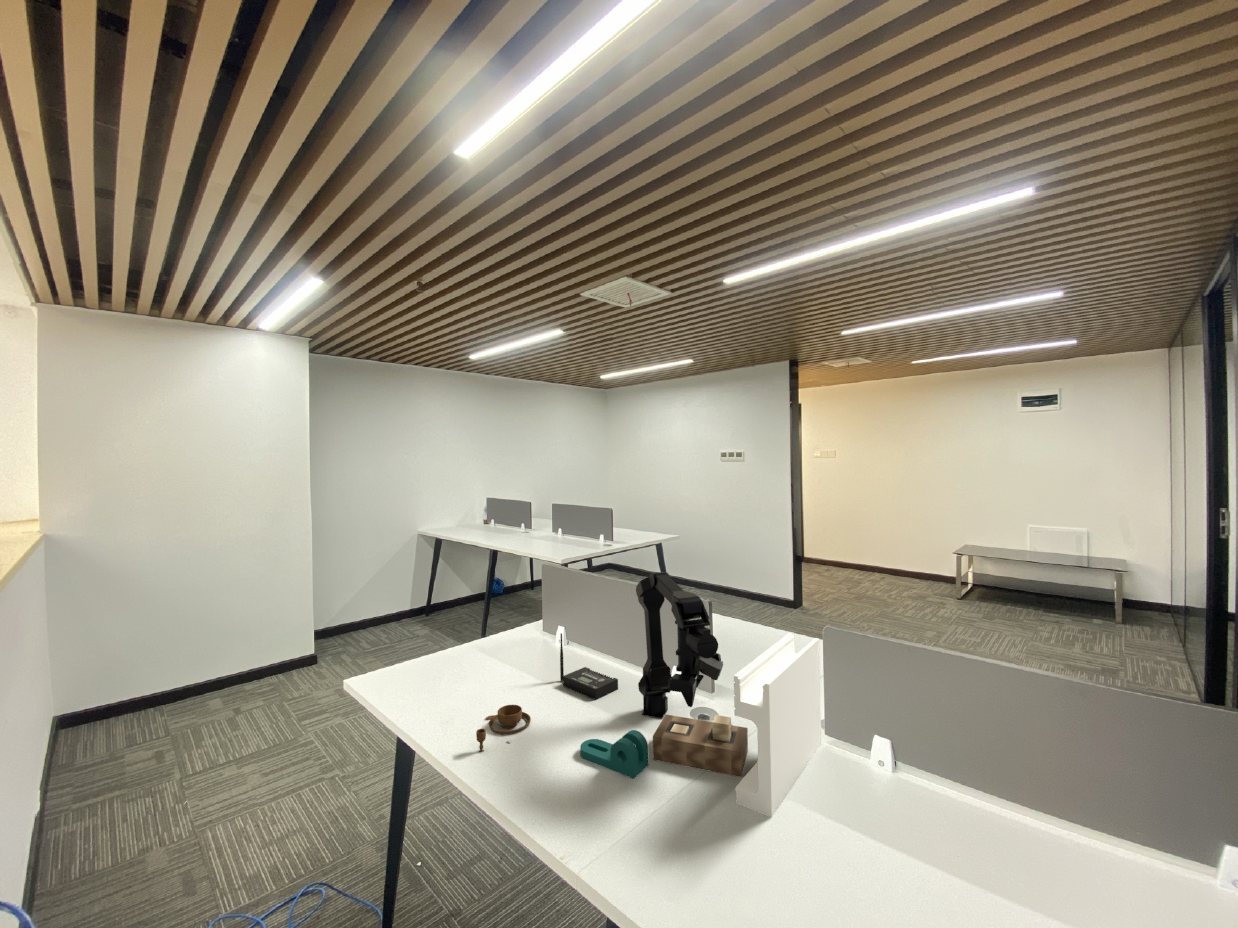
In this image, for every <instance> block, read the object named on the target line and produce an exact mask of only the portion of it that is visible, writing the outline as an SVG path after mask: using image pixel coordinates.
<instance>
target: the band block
mask: <svg viewBox="0 0 1238 928" xmlns="http://www.w3.org/2000/svg"><path fill="white" fill-rule="evenodd" d="M712 722H713V721H708V720H704V719H703V720H701V719H696V718H689V717H683V716H677V715H672V714H665V715H664V716H663V718H662V720H661V722H659V725H658V726H657V729H656V730H655V731H654V733H653V734H652V760H653V761H656V762H662V763H668V764H673V765H677V766H678V765H679V766H683V767H688V768H693V769H697V770H703V771H707V772H713V773H718V774H724V775H727V776H732V777H733V776H734V777H736V778H737V777H738V778H743V777H742V776H743V773H744V770H745V769H744V768H745V765H746V760H747V757H748V753H749V742H748V741H749V740H748V736H749V735H748V730H749V729H748V727H744V726H739V725H732V724H731V737H732V738H731V741H730V742H727V741H721V740H715V739H713V725H712ZM674 724H678V725H684V726H689V731H688V733H687V734H681V733H676V732H670V731H671V729H672V727H673V725H674Z"/></svg>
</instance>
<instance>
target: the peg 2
mask: <svg viewBox="0 0 1238 928" xmlns="http://www.w3.org/2000/svg"><path fill="white" fill-rule="evenodd" d="M711 722H712V725H713V739H715V740H721V741H727V742H730V741H731V738H732V737H731V725H732V717H731V716H724V715H719V714H715V715H714V717H713V720H712V721H711Z"/></svg>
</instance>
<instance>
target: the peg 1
mask: <svg viewBox="0 0 1238 928" xmlns="http://www.w3.org/2000/svg"><path fill="white" fill-rule="evenodd" d="M688 731H689V726H684V725H678V724H674V725H673V727H672V729H671V731H670V732H676V733H681V734H687V733H688Z"/></svg>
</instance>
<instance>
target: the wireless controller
mask: <svg viewBox="0 0 1238 928" xmlns="http://www.w3.org/2000/svg"><path fill="white" fill-rule="evenodd" d="M559 649H560V651H559V663H560V664H559V667H560V668H559V673H560V674H559V675H560V682H561V683H562V687H563V688H566V689H569V690H571V691H573V692H576V693H578V694H580V695H583V696H584V697H588V699H589V698H590V699H592V700H595V701H598V700H600V699H602V698H604V697H605V696H608V695H610V694H612V693H614V692H616V691H618V690H619V679H618V678H616V677H612V676H609V675H606V674H604V673H600V672H598V671H596V670H595V671H594V670H593V669H591V668H589V667H587V666H584V667H581V668H579V669H577V670H574V671H572V672H569V673H567V674H565V675H564V651H563V649H564V647H563V633H562V632H560V648H559Z"/></svg>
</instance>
